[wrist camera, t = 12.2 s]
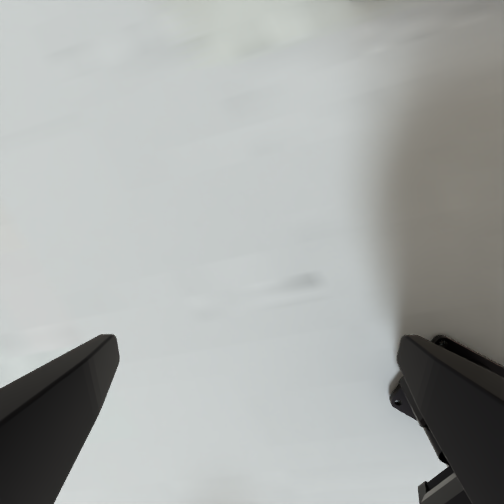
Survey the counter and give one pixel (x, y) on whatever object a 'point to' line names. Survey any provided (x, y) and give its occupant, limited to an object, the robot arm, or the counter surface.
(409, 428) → the counter surface
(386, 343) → the counter surface
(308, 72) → the counter surface
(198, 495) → the counter surface
